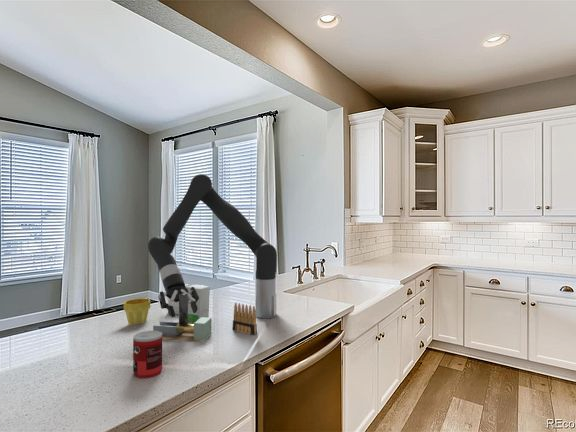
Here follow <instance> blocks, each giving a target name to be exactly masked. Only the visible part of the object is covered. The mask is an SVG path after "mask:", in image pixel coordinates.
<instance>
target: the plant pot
mask: <svg viewBox="0 0 576 432" xmlns="http://www.w3.org/2000/svg"><path fill="white" fill-rule="evenodd" d="M150 308H151V299H150V298H145V297H143V298H142V297H141V298H140V297H139V298H132V299H129V300H125V301H123V311H124V312H125V314H126V319H127V323H128V325H129V326H131V325H138V324H139V325H140V324H144V323H146V322H147V320H148V315H149V309H150Z"/></svg>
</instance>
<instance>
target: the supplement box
mask: <svg viewBox="0 0 576 432" xmlns="http://www.w3.org/2000/svg"><path fill="white" fill-rule="evenodd" d="M187 286H190V284H188V283H185V287H187ZM167 298H168V297H167ZM169 301H170V299H169V298H168V300H167V303H169ZM171 306H173V309H174V311H175V315H179V301H178V302H174V301H173V303H172V305H171ZM167 314H169V312H168V311H167Z"/></svg>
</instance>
